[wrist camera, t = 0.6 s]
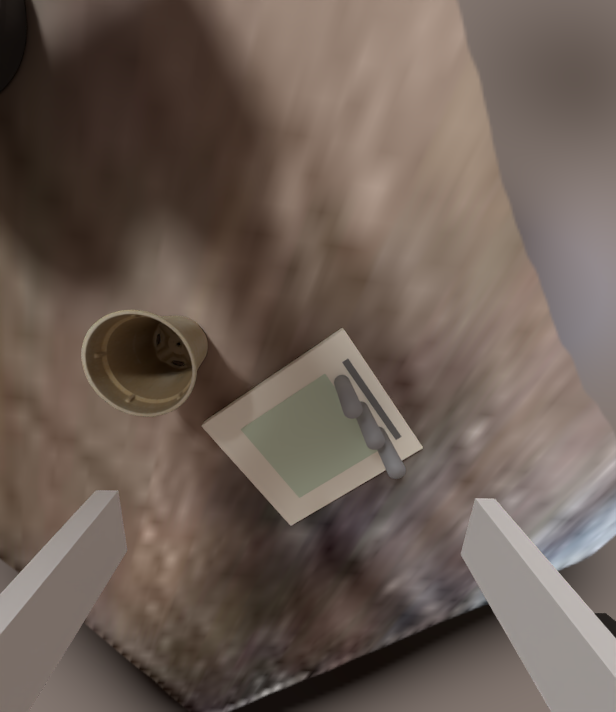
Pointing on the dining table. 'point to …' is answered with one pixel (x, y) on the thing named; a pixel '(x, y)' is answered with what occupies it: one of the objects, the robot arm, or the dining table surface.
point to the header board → (314, 430)
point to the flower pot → (143, 360)
